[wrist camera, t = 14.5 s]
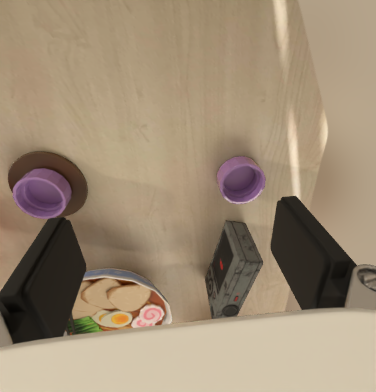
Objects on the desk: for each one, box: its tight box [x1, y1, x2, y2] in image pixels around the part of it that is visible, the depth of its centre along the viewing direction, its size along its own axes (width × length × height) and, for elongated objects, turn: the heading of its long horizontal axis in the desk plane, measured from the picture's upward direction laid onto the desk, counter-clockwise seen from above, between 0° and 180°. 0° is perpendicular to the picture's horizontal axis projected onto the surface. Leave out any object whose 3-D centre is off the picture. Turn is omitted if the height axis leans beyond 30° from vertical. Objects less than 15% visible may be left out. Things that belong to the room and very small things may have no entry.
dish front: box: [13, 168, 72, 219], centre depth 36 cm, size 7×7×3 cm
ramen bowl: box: [64, 268, 172, 336], centre depth 47 cm, size 25×23×8 cm
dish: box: [217, 156, 266, 204], centre depth 39 cm, size 7×7×3 cm
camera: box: [205, 221, 263, 319], centre depth 45 cm, size 16×4×10 cm, turn 168°
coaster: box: [8, 152, 88, 217], centre depth 38 cm, size 11×11×1 cm
